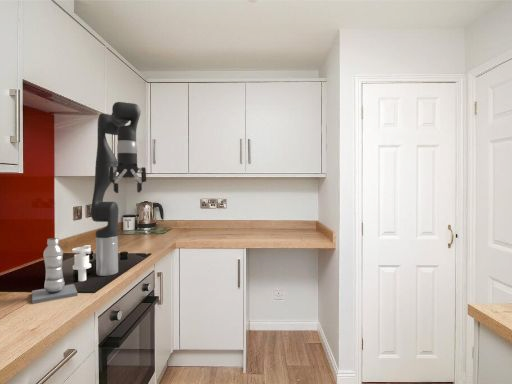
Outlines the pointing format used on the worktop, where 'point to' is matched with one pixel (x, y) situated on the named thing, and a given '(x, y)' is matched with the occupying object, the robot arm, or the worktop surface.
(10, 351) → the worktop surface
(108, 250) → the robot arm
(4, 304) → the worktop surface
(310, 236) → the worktop surface
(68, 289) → the board
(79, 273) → the white cylindrical piece
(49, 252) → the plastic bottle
